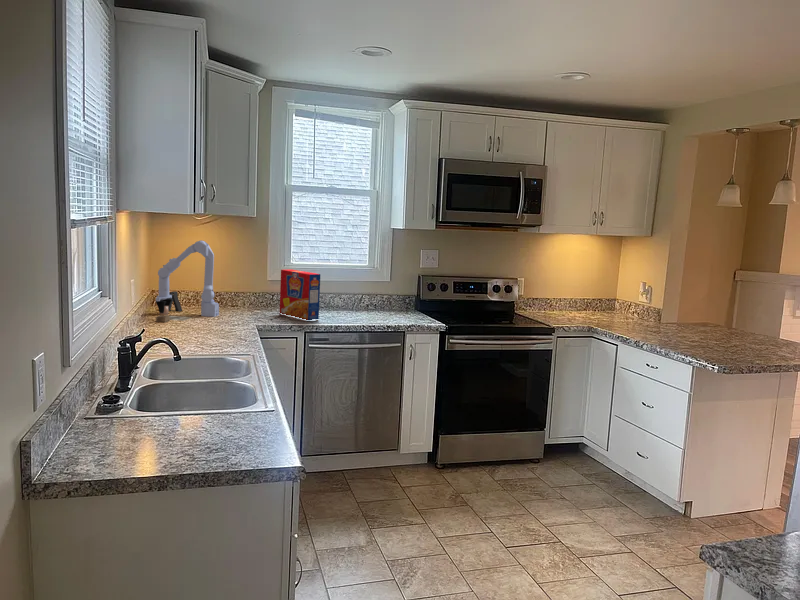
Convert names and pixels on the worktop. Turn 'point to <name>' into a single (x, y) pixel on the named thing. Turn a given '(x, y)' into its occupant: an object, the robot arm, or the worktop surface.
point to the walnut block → (162, 318)
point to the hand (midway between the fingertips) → (163, 312)
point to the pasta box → (300, 294)
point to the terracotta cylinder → (165, 311)
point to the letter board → (179, 318)
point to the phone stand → (175, 302)
